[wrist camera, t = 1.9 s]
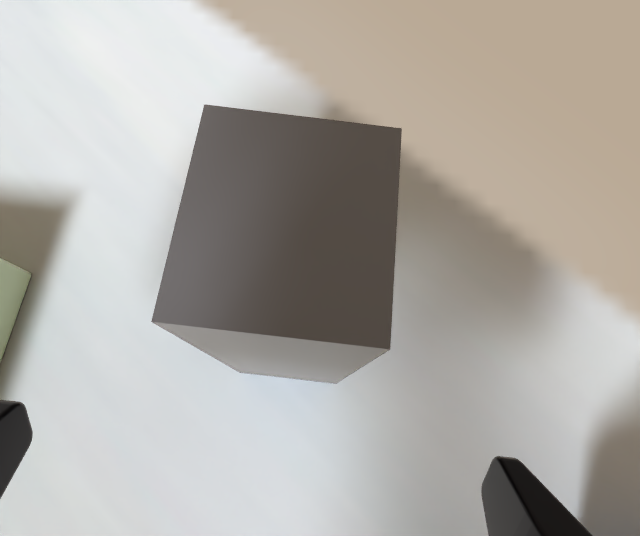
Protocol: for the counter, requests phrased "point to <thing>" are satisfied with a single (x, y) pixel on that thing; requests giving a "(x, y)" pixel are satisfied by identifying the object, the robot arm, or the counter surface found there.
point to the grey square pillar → (285, 244)
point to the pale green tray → (10, 298)
